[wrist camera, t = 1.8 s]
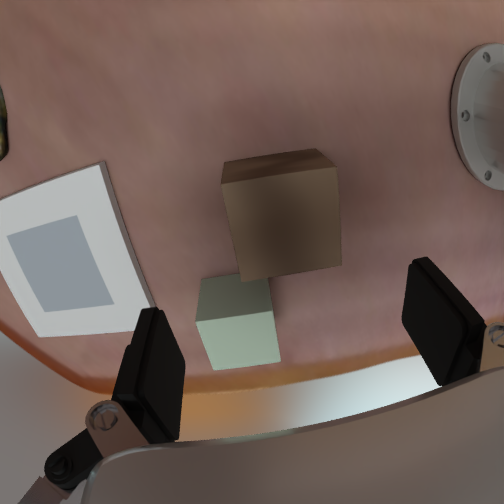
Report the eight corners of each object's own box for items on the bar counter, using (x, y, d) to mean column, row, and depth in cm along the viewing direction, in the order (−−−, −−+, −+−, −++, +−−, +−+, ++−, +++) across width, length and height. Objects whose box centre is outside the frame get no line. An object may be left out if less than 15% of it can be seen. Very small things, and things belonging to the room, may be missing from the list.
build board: (104, 161, 19) (98, 164, 19) (161, 320, 26) (159, 328, 25) (-19, 207, 20) (-26, 212, 19) (42, 330, 27) (38, 337, 26)
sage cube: (266, 268, 24) (272, 310, 20) (274, 317, 27) (280, 361, 22) (201, 278, 25) (195, 321, 20) (216, 326, 27) (213, 370, 23)
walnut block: (315, 147, 20) (336, 167, 16) (322, 229, 23) (341, 265, 19) (224, 161, 20) (220, 184, 16) (240, 242, 23) (241, 282, 19)
